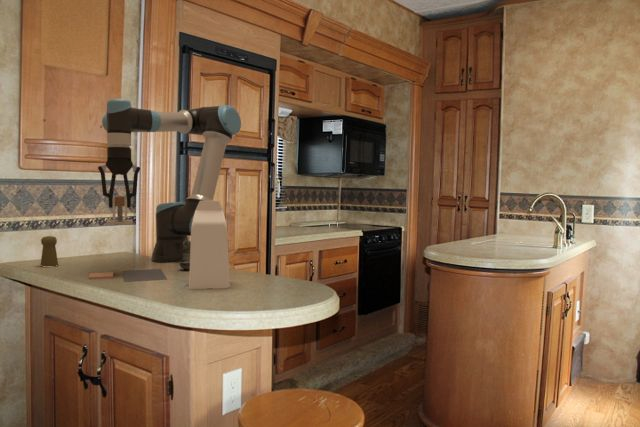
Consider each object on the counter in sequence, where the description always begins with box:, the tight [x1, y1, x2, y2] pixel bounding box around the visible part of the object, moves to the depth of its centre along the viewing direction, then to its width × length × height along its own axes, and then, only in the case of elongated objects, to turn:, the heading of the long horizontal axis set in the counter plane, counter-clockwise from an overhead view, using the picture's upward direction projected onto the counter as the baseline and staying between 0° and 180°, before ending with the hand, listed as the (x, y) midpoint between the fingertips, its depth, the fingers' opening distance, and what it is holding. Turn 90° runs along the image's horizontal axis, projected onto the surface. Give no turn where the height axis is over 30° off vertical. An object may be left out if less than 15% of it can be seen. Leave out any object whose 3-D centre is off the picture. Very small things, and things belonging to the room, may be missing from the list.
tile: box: [88, 271, 114, 280], centre depth 178 cm, size 7×2×8 cm
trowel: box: [105, 195, 134, 226], centre depth 183 cm, size 15×8×9 cm, turn 19°
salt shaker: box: [178, 237, 191, 271], centre depth 192 cm, size 6×6×12 cm
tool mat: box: [121, 268, 169, 283], centre depth 182 cm, size 13×22×1 cm, turn 22°
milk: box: [188, 200, 231, 290], centre depth 168 cm, size 12×12×26 cm
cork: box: [40, 235, 59, 267], centre depth 201 cm, size 6×6×11 cm
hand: (120, 217), depth 182 cm, fingers closed on trowel, 3 cm apart
